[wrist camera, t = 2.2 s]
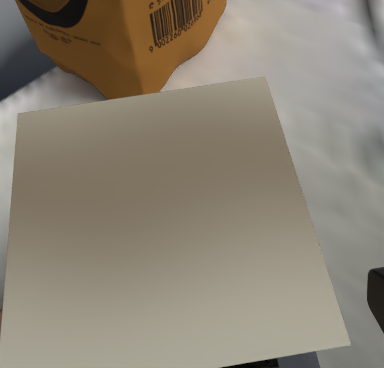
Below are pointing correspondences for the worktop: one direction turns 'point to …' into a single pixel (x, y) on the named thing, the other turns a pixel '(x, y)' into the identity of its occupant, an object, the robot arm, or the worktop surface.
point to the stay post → (162, 236)
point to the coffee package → (121, 38)
